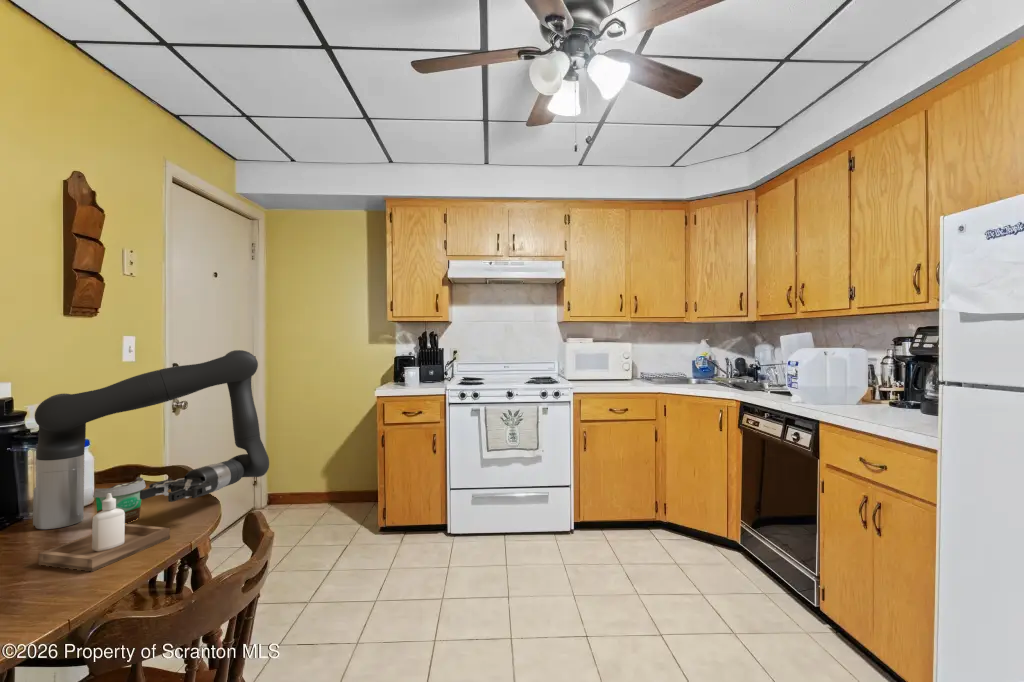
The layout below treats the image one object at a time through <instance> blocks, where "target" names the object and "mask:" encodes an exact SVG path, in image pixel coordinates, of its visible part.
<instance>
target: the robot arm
mask: <svg viewBox="0 0 1024 682" xmlns="http://www.w3.org/2000/svg"><path fill="white" fill-rule="evenodd" d="M258 367H259V362H258V360H257V358H256V356H254V354H252V353H251V352H249V351H247V350H242V349H241V350H240V349H239V350H238V349H236V350H231V351H229V352H227V353H226V354H225V355H224V356H220V357H217V358H215V359H212V360H208V361H204V362H200V363H193V364H184V365H176V366H172V367H171V366H170V367H166V368H165V367H164V368H161V369H157V370H156V369H155V370H153V371H148V372H144V373H141V374H138V375H134V376H131V377H128V378H126V379H124V380H121V381H118V382H116V383H113V384H109V385H107V386H105V387H101V388H98V389H93V390H89V391H82V392H78V393H77V392H76V393H57V394H53V395H52V396H49V397H48V398H45V399H44V400H43V401H41V402H40V403H39V404H38V406H37V407H36V410H35V412H34V421H35V423H36V424H37V425H38V441H37V446H36V457H35V459H36V463H35V465H36V467H35V468H36V470H35V472H36V473H35V479H36V480H35V487H34V488H33V494H32V495H33V497H32V501H33V502H32V503H33V505H32V510H33V511H32V526H33V527H34V526H35V529H37V530H52V529H60V528H65V527H68V526H69V527H70V526H72V525H75V524H78V523H81V522H82V521H83V520H84V508H85V507H84V506H85V448H86V446H85V445H86V439H87V438H86V430H87V427H86V425H87V423H90V422H92V421H95V420H97V419H100V418H104V417H106V416H111V415H115V414H119V413H123V412H129V411H135V410H139V409H143V408H148V407H152V406H155V405H159V404H163V403H167V402H170V401H172V400H177V399H179V398H182V397H185V396H188V395H190V394H191V395H192V394H194V393H197V392H199V391H202V390H204V389H207V388H210V387H211V388H212V387H215V386H220V385H227V389H228V392H229V393H228V394H229V399H230V405H231V406H230V407H231V417H232V418H231V419H232V429H233V437H234V444H235V447H237V448H239V449H242V450H245V451H246V453H243V454H238V455H236V456H233V457H231V458H229V459H227V460H225V461H220V462H218V463H212V464H209V465H205V466H200V467H198V468H195V469H191V470H189V471H188V472H186V474H185V476H184V477H183V478H177V479H176V480H173V478H168V479H163V480H161V481H157V482H153V483H150V484H149V486H148V488H144V489H143V490H141V491H140V499H141V500H146V499H149V498H152V497H157V496H160V495H164V497H166V496H167V497H168V498H167V501H168V502H170V503H173V502H176V501H178V500H182V499H189V498H191V499H196V498H201V497H203V496H205V495H209V494H211V493H214V492H217V491H220V490H221V489H223V488H225V487H228V486H231V485H233V484H235V483H238V482H239V481H240V480H241V479H242V478H260V477H263V476H265V475H266V474H267V473H268V470H269V468H270V458H269V455H268V453H267V450H266V448H265V446H264V443H263V441H262V439H261V433H260V431H261V430H260V424H259V417H258V412H257V409H256V406H255V402H254V401H255V400H254V397H253V391H252V389H253V388H252V377H253V376H254V375H255V374H256V372H257V370H258ZM169 490H170V491H169Z"/></svg>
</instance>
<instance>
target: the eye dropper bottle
mask: <svg viewBox="0 0 1024 682" xmlns="http://www.w3.org/2000/svg"><path fill="white" fill-rule="evenodd" d="M91 528H92V529H91V531H92V532H91V534H92V550H94V551H97V552H100V551H105V550H109V549H112V548H115V547H118V546H120V545H122V544H124V542H125V512H124V510H122V509H118V508H116V499H115V498H112V495H111V493H109V494H107V497H106V499H105V500H103V501H102V511H101V512H99V513H97V512H96V514H95V515H93V517H92V527H91Z"/></svg>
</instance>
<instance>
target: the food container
mask: <svg viewBox="0 0 1024 682" xmlns="http://www.w3.org/2000/svg"><path fill="white" fill-rule="evenodd" d="M146 487H147V485H146V482H145V480H144V478H143V477H141V476H140V477H139V476H137V477H136V480H133V481H130V482H126V483H118V484H115V485H112V486H110V487H108V488H94V491H93V495H92V498H95V503H96V514H97V513H99V512H101V511H102V501H103V500H105V499H106V497H107V494H109V493H111V495H112V498H115V499H116V508H118V509H122V510H124V512H125V523H128V522H131V521H133V520H136V519H137V518H139V519H140V517H141V516H140V514H141V507H142V499H140V491H141V490H145V489H146ZM139 516H140V517H139ZM136 521H137V520H136ZM131 523H132V522H131ZM128 524H129V523H128Z"/></svg>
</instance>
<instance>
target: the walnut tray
mask: <svg viewBox="0 0 1024 682" xmlns="http://www.w3.org/2000/svg"><path fill="white" fill-rule="evenodd" d="M170 533H171V528H170V527H165V526H164V527H163V526H154V525H153V526H152V525H142V524H131V523H128V524H125V542H124V544H122V545H120V546H118V547H115V548H112V549H109V550H105V551H100V552H97V551H94V550H92V533H91V534H89V535H86V536H83V537H80V538H77V539H74V540H72V541H69V542H65V543H63V544H61V545H57V546H55V547H53V548H49V549H46V550H44V551H41V552H39V553H38V566H41V565H46V566H45V567H49V566H52V567H51V568H57V567H60V568H59V569H65V568H69V569H68V570H73V569H77V570H76V571H81V570H85V571H84V572H89V571H91V572H92V573H93V572H96V571H98V570H100V569H102V568H105V567H106V566H109V565H112V564H113V563H116V562H118V560H119V561H121V560H123V559H125V558H128V557H130V556H132V555H135V554H137V553H139V552H141V551H144V550H146V549H149V548H151V547H153V546H156V545H158V544H161V543H162V542H165V541H167V540H170V538H171V535H170ZM104 566H105V567H104ZM101 567H102V568H101ZM97 569H98V570H97ZM91 572H90V573H91Z"/></svg>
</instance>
